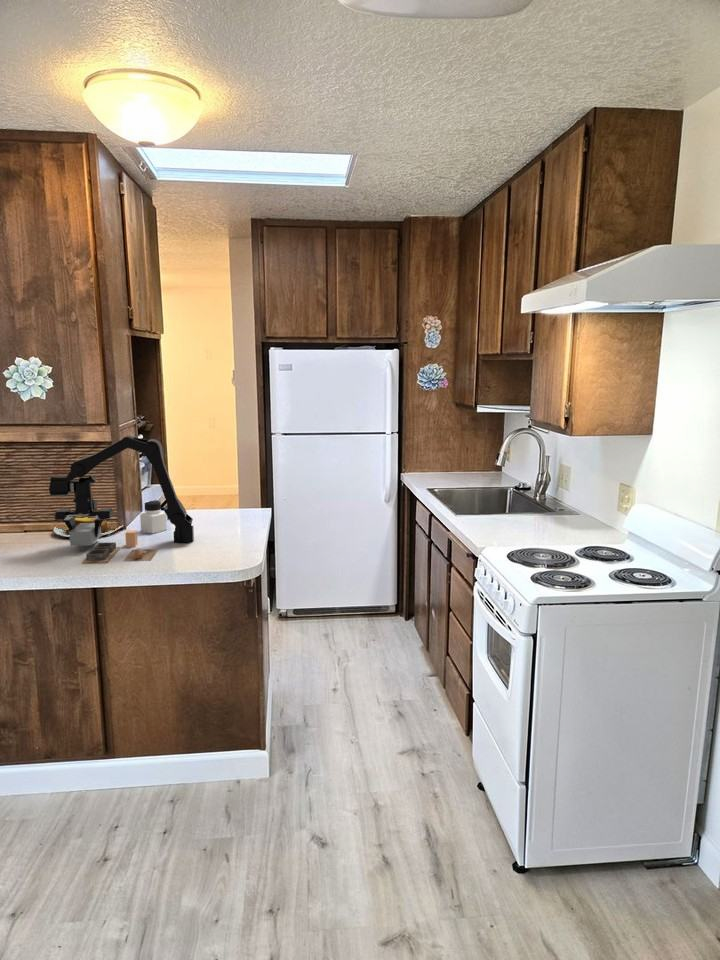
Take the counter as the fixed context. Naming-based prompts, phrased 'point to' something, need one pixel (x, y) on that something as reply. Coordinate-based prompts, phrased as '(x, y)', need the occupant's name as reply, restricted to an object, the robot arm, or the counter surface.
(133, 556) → the plate
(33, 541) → the counter surface
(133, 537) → the tan rectangular block
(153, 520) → the medicine bottle
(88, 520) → the food on plate
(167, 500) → the robot arm
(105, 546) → the socket board
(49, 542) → the counter surface
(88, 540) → the housing
